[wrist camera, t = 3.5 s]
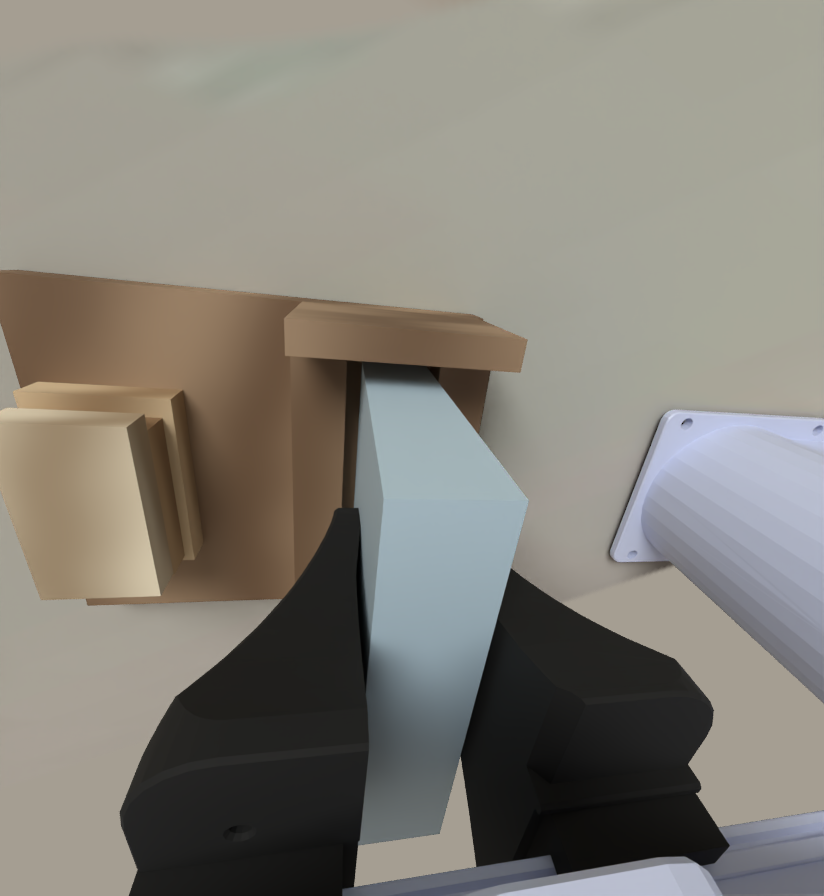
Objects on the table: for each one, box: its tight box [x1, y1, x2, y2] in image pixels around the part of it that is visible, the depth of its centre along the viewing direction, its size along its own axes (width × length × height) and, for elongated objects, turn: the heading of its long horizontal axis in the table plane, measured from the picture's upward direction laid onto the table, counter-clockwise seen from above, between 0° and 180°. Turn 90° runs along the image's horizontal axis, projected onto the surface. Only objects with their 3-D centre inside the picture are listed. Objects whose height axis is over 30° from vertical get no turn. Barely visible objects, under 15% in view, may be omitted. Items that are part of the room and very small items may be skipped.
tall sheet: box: [354, 361, 529, 845], centre depth 11 cm, size 2×9×8 cm, turn 174°
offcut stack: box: [0, 382, 203, 600], centre depth 12 cm, size 4×6×3 cm, turn 174°
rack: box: [0, 270, 527, 606], centre depth 13 cm, size 14×12×5 cm
